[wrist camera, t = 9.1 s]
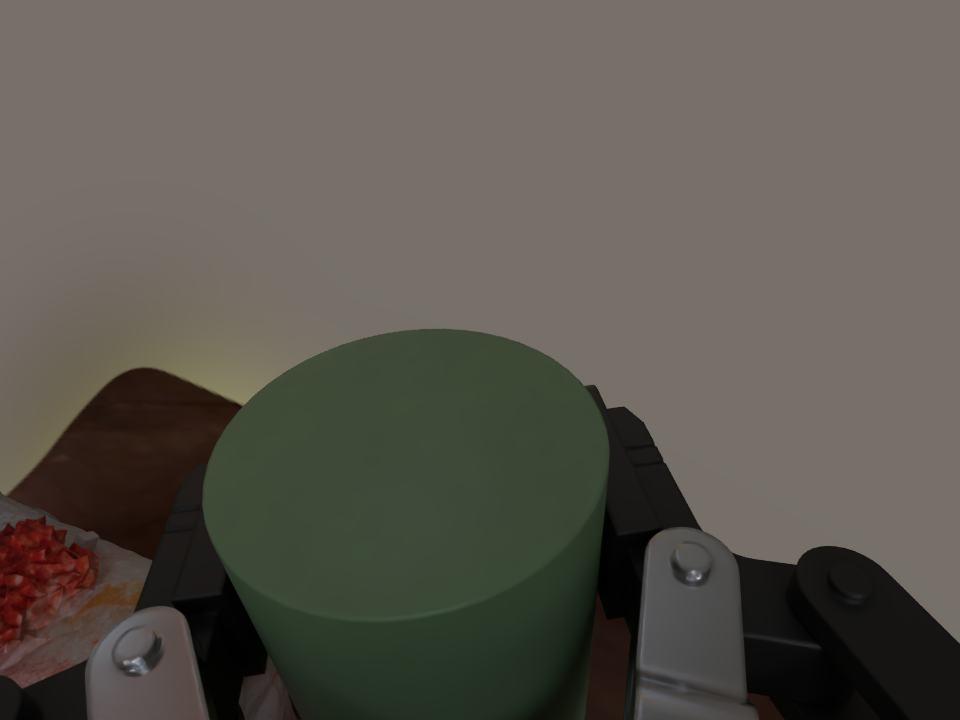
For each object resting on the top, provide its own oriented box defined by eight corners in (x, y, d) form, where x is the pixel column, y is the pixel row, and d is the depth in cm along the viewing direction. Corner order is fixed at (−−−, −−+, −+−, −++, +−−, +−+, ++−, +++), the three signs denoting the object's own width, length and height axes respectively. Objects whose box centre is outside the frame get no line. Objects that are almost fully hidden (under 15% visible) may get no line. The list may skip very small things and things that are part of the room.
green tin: (441, 552, 16) (401, 297, 12) (629, 673, 13) (678, 398, 9) (272, 733, 13) (119, 473, 8) (478, 949, 10) (424, 738, 5)
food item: (354, 722, 21) (283, 540, 15) (175, 1047, 15) (-56, 955, 9) (81, 592, 25) (-53, 416, 20) (-136, 798, 19) (-419, 633, 14)
